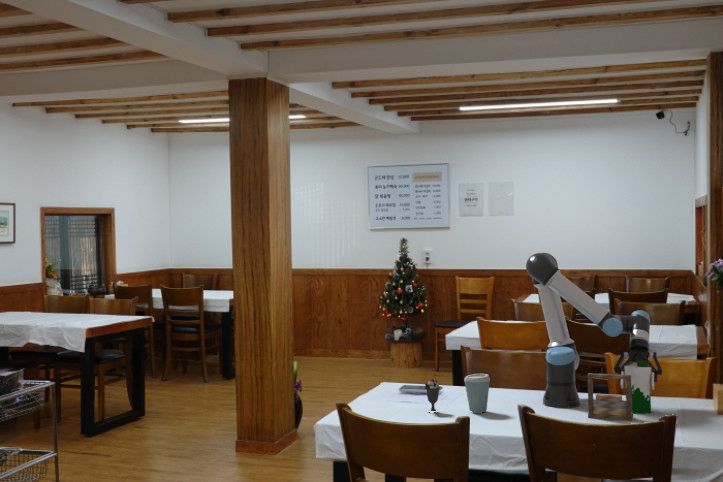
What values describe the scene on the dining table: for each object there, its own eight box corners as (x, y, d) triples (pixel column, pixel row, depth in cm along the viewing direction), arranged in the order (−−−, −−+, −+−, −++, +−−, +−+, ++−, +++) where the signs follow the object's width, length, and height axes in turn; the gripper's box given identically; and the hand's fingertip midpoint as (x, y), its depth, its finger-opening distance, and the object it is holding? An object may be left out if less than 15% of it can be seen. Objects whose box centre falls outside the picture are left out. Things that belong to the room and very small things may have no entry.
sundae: (442, 410, 314) (442, 374, 315) (439, 414, 308) (438, 376, 308) (427, 410, 316) (426, 373, 317) (423, 413, 310) (422, 376, 310)
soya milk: (654, 413, 301) (653, 362, 302) (632, 414, 300) (631, 363, 301) (644, 408, 310) (643, 359, 310) (622, 409, 309) (621, 360, 309)
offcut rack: (588, 417, 296) (587, 374, 296) (590, 414, 301) (589, 372, 302) (631, 420, 289) (630, 376, 289) (633, 417, 295) (632, 374, 295)
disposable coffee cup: (474, 415, 303) (474, 377, 304) (459, 411, 313) (458, 374, 313) (496, 412, 308) (495, 375, 309) (480, 408, 318) (479, 372, 318)
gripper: (670, 349, 315) (669, 394, 300) (610, 348, 324) (607, 391, 310) (669, 338, 310) (668, 383, 296) (609, 336, 320) (605, 380, 305)
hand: (637, 387), depth 303 cm, fingers open, 11 cm apart
